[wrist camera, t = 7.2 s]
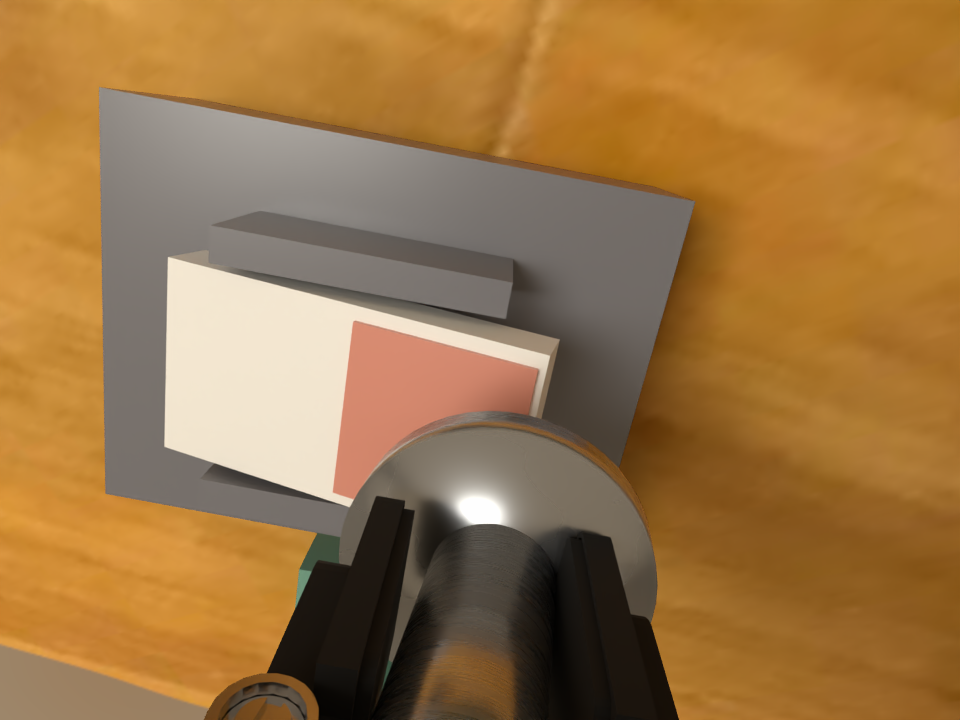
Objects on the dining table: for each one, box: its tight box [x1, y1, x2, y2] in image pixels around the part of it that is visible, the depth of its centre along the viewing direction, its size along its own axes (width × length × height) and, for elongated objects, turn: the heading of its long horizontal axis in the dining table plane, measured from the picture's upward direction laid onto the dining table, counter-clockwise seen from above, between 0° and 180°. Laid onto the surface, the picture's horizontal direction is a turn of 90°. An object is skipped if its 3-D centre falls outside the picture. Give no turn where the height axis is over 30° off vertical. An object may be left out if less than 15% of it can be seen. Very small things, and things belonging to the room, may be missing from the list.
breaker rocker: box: [164, 250, 560, 507], centre depth 19 cm, size 11×6×2 cm, turn 80°
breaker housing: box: [99, 87, 695, 537], centre depth 23 cm, size 18×14×10 cm
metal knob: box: [339, 411, 657, 720], centre depth 11 cm, size 6×6×12 cm
